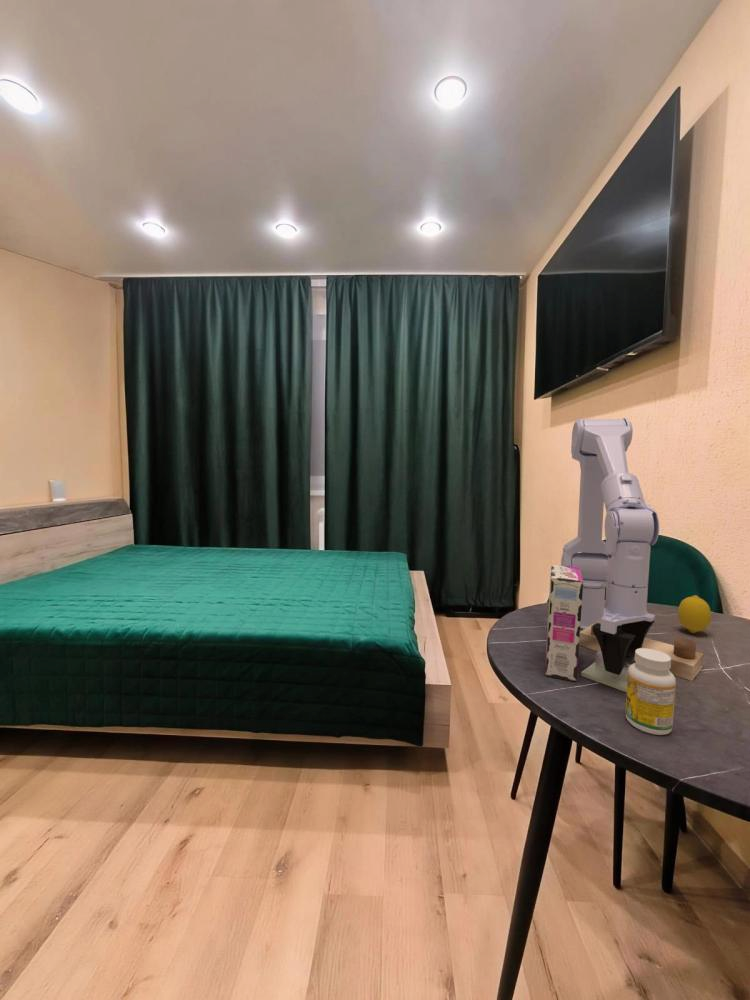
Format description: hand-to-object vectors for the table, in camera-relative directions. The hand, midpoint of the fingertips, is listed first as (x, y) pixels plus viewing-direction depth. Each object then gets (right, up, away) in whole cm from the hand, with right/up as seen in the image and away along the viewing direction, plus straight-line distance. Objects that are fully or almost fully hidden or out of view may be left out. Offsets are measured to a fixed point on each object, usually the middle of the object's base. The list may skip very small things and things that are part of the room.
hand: (621, 664), depth 70 cm
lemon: (+26, -1, +19) cm, 32 cm away
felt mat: (0, -2, 0) cm, 2 cm away
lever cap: (0, -2, 0) cm, 2 cm away
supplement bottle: (-4, -3, -12) cm, 13 cm away
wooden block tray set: (+8, -2, +8) cm, 11 cm away
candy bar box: (-8, -2, +4) cm, 9 cm away
